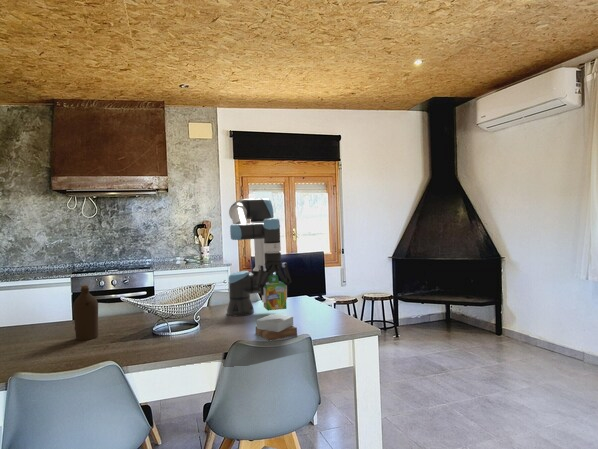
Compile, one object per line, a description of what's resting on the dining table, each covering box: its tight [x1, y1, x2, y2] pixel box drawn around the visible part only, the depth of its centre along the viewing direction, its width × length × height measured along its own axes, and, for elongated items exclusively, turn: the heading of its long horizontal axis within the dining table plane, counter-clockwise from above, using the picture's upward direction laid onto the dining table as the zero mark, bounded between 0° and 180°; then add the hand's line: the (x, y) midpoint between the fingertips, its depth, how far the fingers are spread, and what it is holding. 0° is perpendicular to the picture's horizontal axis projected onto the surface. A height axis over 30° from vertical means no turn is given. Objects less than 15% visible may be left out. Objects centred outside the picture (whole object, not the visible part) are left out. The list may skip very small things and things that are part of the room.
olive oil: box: [72, 284, 99, 342], centre depth 190 cm, size 11×11×25 cm
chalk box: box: [263, 274, 287, 312], centre depth 183 cm, size 9×9×15 cm
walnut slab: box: [255, 325, 298, 342], centre depth 184 cm, size 14×14×4 cm
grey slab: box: [256, 313, 294, 332], centre depth 184 cm, size 12×12×4 cm
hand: (274, 300), depth 184 cm, fingers closed on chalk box, 10 cm apart
